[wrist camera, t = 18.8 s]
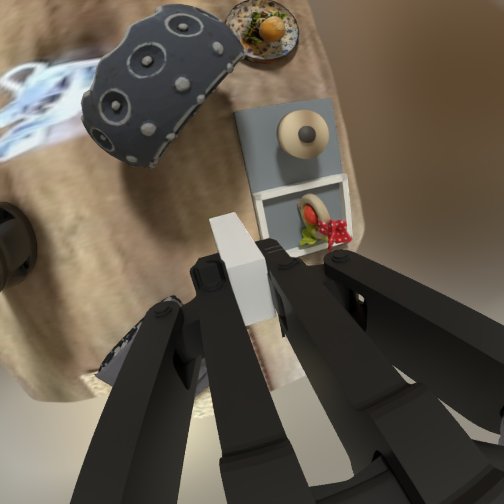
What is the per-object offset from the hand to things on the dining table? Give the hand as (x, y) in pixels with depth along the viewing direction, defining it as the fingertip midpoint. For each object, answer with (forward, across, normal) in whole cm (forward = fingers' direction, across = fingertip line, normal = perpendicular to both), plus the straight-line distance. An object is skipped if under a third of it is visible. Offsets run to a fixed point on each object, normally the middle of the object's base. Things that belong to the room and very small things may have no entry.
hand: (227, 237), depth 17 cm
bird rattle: (+29, +15, -11) cm, 34 cm away
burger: (+30, +14, +21) cm, 39 cm away
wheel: (+25, +15, +3) cm, 29 cm away
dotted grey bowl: (+30, -2, +13) cm, 32 cm away
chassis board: (+29, +15, -5) cm, 33 cm away
